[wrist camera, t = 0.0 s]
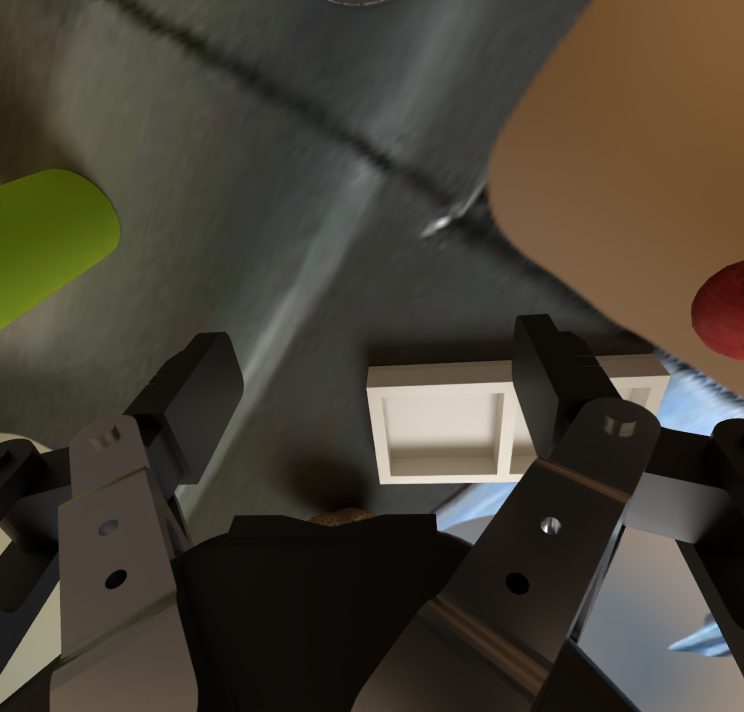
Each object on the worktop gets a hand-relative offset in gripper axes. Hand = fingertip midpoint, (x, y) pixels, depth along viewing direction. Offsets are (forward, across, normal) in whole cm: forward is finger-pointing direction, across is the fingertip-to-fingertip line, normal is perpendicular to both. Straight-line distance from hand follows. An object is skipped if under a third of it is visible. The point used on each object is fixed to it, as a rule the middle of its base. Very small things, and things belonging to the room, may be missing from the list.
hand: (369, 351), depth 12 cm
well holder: (+18, -8, +18) cm, 27 cm away
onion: (+18, -21, +7) cm, 28 cm away
